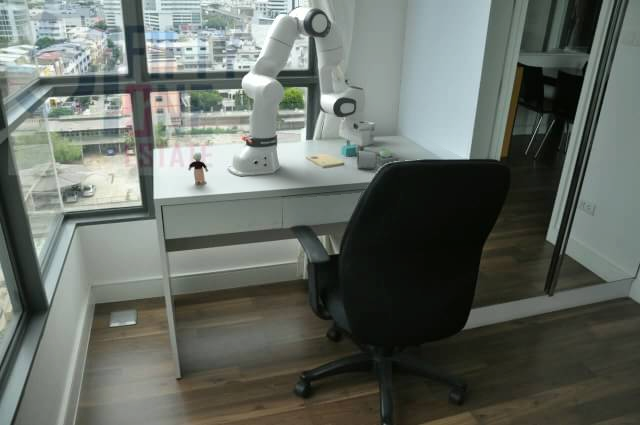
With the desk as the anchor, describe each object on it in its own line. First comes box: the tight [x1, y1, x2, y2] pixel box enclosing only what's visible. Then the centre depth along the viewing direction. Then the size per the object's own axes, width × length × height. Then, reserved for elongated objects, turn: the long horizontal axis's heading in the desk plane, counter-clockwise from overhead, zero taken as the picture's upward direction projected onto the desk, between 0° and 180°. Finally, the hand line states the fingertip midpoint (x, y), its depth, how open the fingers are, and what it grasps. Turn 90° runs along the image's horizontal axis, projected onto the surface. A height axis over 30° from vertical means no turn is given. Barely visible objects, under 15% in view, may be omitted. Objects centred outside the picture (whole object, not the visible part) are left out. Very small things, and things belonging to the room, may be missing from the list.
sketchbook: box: [305, 153, 345, 169], centre depth 228 cm, size 11×15×1 cm
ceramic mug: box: [356, 150, 378, 170], centre depth 222 cm, size 11×8×8 cm
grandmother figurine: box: [187, 151, 209, 186], centre depth 196 cm, size 8×4×13 cm, turn 99°
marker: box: [340, 144, 365, 157], centre depth 239 cm, size 10×4×4 cm, turn 121°
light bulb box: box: [350, 120, 376, 146], centre depth 254 cm, size 11×7×11 cm, turn 130°
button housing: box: [376, 152, 400, 167], centre depth 229 cm, size 9×9×3 cm
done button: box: [379, 148, 392, 159], centre depth 228 cm, size 5×5×4 cm
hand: (352, 150), depth 239 cm, fingers open, 5 cm apart
